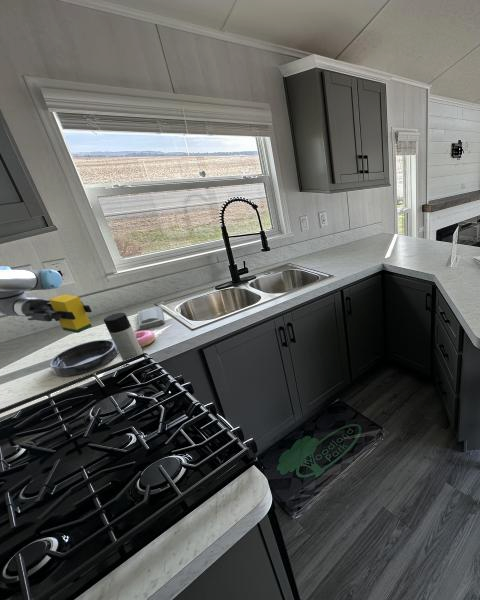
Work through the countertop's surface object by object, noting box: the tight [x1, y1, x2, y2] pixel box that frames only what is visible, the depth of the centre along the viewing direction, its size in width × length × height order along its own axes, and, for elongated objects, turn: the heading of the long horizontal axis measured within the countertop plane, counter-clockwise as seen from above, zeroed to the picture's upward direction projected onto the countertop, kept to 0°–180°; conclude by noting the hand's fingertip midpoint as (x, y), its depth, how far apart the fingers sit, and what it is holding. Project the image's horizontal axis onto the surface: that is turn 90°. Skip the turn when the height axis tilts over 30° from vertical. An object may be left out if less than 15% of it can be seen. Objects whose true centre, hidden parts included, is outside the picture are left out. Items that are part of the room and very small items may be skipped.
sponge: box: [48, 293, 93, 334], centre depth 123 cm, size 7×5×13 cm
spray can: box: [103, 312, 144, 362], centre depth 124 cm, size 7×7×20 cm
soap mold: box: [137, 305, 166, 331], centre depth 160 cm, size 10×20×4 cm, turn 37°
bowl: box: [49, 339, 119, 377], centre depth 128 cm, size 19×19×4 cm
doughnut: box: [134, 329, 156, 348], centre depth 139 cm, size 11×11×4 cm
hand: (81, 312), depth 121 cm, fingers closed on sponge, 5 cm apart
